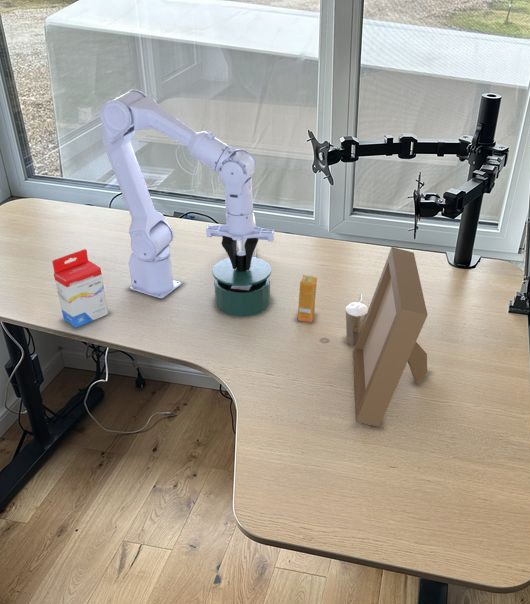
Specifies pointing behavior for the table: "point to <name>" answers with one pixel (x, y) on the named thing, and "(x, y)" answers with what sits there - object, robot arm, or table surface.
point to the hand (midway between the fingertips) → (241, 267)
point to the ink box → (79, 289)
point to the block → (242, 288)
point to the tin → (242, 299)
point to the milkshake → (355, 320)
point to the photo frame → (389, 337)
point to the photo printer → (242, 242)
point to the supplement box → (307, 298)
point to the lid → (241, 271)
